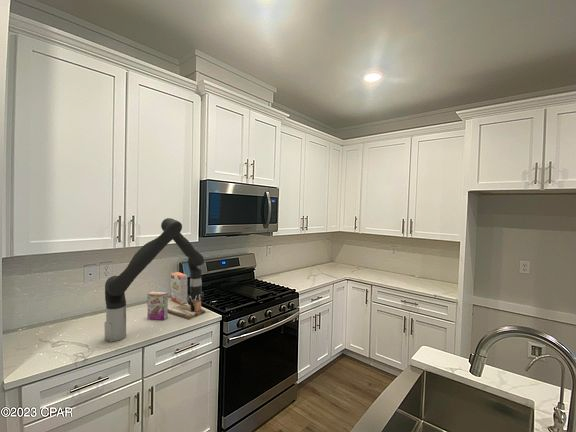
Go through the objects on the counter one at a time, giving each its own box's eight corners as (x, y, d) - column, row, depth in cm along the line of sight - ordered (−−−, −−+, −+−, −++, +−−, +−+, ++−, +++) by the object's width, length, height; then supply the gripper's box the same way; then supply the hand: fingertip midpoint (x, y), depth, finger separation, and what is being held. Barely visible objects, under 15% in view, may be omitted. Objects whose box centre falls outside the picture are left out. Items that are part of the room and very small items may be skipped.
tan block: (196, 311, 189) (196, 302, 189) (190, 309, 192) (190, 301, 192) (201, 309, 193) (201, 300, 193) (194, 307, 196) (194, 299, 196)
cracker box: (170, 300, 215) (170, 272, 214) (178, 298, 219) (178, 271, 218) (180, 304, 206) (180, 276, 205) (187, 302, 210) (187, 274, 209)
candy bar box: (147, 319, 179) (146, 293, 179) (151, 316, 184) (151, 291, 184) (164, 320, 178) (164, 294, 178) (168, 317, 183) (168, 292, 183)
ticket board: (188, 319, 180) (188, 315, 180) (165, 312, 191) (165, 308, 191) (205, 312, 192) (205, 308, 192) (182, 306, 203) (182, 302, 203)
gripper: (191, 288, 184) (191, 314, 185) (207, 282, 196) (207, 307, 197) (183, 286, 188) (183, 311, 188) (199, 281, 200) (199, 305, 201)
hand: (195, 309), depth 193 cm, fingers closed on tan block, 4 cm apart
